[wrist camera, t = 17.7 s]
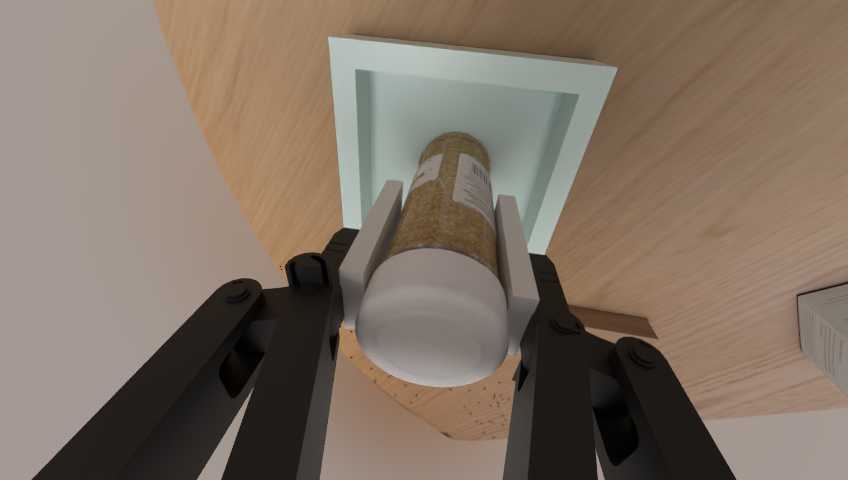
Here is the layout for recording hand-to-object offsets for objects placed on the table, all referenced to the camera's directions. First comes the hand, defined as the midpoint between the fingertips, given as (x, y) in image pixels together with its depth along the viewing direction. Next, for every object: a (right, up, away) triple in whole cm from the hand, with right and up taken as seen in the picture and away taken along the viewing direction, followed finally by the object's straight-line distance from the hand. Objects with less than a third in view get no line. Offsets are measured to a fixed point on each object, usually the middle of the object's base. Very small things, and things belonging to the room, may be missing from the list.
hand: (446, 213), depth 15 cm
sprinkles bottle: (+1, +3, +5) cm, 6 cm away
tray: (+1, +4, +5) cm, 6 cm away
